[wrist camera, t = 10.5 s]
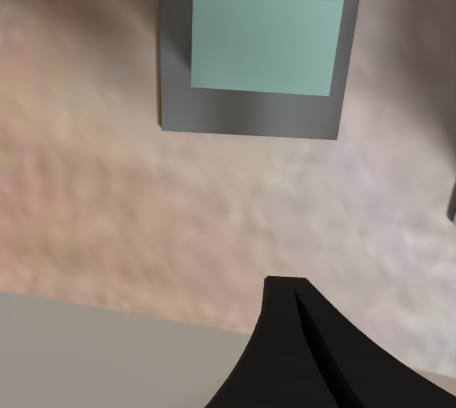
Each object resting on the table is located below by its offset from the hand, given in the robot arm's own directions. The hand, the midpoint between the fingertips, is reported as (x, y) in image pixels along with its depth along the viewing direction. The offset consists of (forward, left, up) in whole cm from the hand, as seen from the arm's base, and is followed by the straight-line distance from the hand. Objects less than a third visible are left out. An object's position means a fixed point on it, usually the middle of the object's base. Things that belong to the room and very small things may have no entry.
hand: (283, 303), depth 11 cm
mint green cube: (+1, -9, -10) cm, 14 cm away
